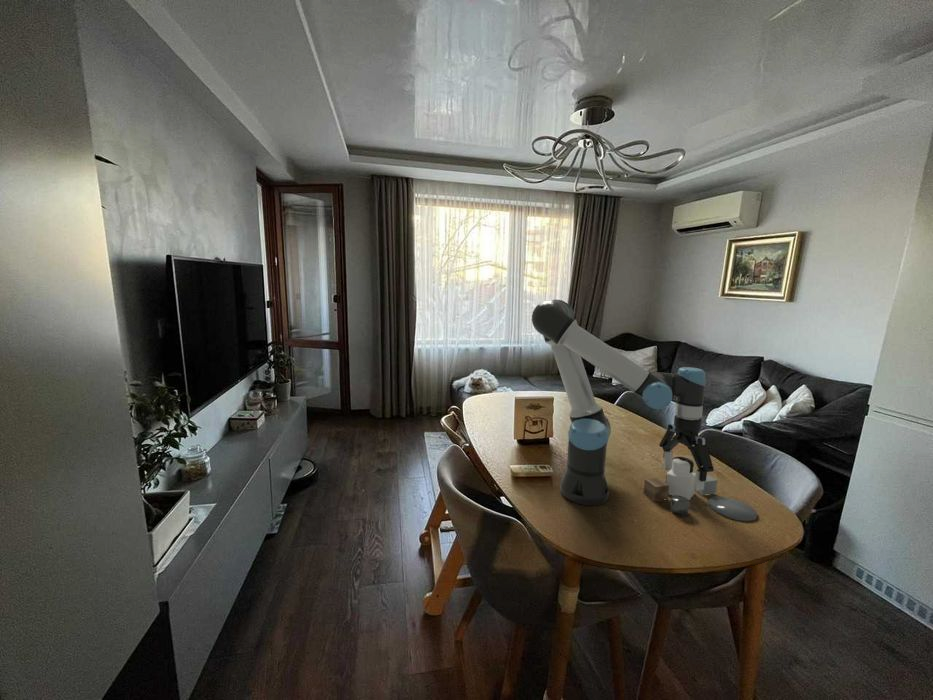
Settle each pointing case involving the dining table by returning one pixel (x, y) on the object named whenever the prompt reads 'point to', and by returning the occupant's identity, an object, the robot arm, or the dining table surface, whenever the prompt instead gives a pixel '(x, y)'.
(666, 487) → the walnut block
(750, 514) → the slate coaster
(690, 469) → the medicine bottle
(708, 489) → the grey block
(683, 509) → the metal tin
